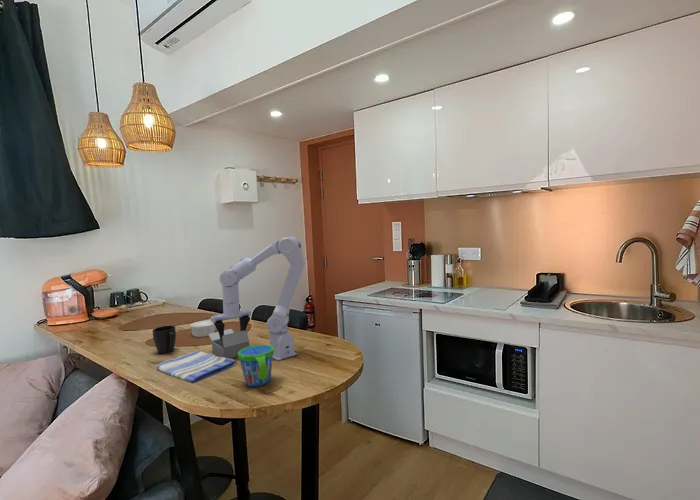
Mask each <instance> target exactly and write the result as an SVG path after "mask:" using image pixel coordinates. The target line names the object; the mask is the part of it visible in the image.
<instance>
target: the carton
mask: <svg viewBox="0 0 700 500" xmlns="http://www.w3.org/2000/svg"><path fill="white" fill-rule="evenodd" d="M250 346H251V345H250V341H248V342H244V343H240V344H236V345H233V346H229V347H225V348H224V345H223V341H222V340H216V341H211V348H212V349H211V350H212V354H213V355H215V356H216V357H224V358H229V359H235V358H238V352H239V351H240V350H241V349H244V348H246V347H250Z"/></svg>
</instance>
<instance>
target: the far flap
mask: <svg viewBox="0 0 700 500" xmlns="http://www.w3.org/2000/svg"><path fill="white" fill-rule="evenodd" d="M231 333H235V331H234V330H233V329H232V328H228V329H224V335H226V334H231ZM208 335H209V336H208V337H209V338H210V341H211V342H212V341H216V340H220V336H219V333H218V331H215V333H210V334H208Z"/></svg>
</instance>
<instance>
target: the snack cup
mask: <svg viewBox="0 0 700 500" xmlns="http://www.w3.org/2000/svg"><path fill="white" fill-rule="evenodd" d="M249 346H250V347H246V348H244V349H241V350H240V351H239V352H238V357H237V358H238V360H240V366H241V370H242V374H243V378H244V382H245V384H246V385H247V386H248V387H262V386H264V385H266V384H268V383H270V382H271V379H272V368H273V358H272V355H273V353H274V349H273V347H272V346H270V344H257V345H249Z"/></svg>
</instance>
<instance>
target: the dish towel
mask: <svg viewBox="0 0 700 500" xmlns="http://www.w3.org/2000/svg"><path fill="white" fill-rule="evenodd" d="M235 364H236V361H235V359H234V358H232V359H229V358H224V357H218V356H216V355H215V354H213V353H212V354H211V353H207V352H203V351H201V350H199V349H198V350H195V351H193V352H190V353H187V354H184V355H180V356H178V357H176V358H172V359H167V360H165V361H163V362H160V363H158V364H157V366H156V368H155V369H156V370H157V371H159V372H161V373H163V374H166V375H168V376H170V377H171V376H172V377H174V378H177V379H179V380H183V381H186V382H188V383H193V384H194V383H197V382H199V381H202V380H204V379H207V378H209V377H212V376H214V375H217V374H220V373H222V372H224V371H227V370H229V369H232V368H234V367H236V365H235Z"/></svg>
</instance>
